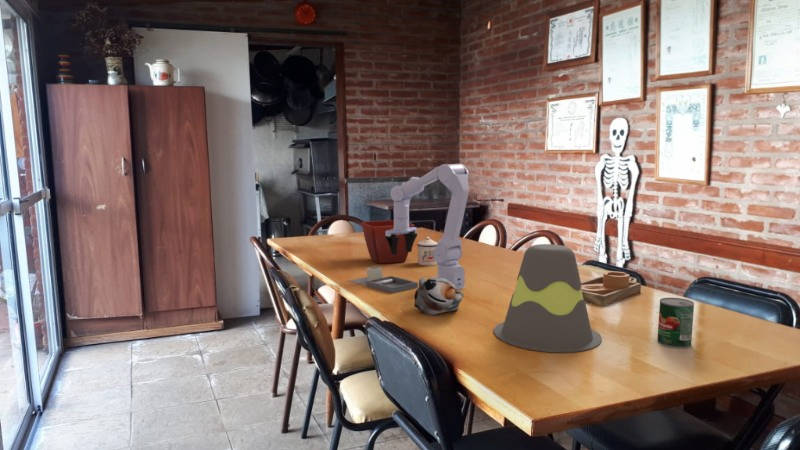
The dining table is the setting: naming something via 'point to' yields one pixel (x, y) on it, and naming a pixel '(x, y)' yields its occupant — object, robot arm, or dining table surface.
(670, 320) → the canned tomato
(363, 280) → the lid panel
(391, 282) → the case
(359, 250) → the dining table surface
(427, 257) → the teacup with lid
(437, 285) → the grey lumpy rounded piece
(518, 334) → the grey brimmed hat
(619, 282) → the brown cup and saucer
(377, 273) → the block
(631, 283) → the fitting cradle
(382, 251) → the plant pot
